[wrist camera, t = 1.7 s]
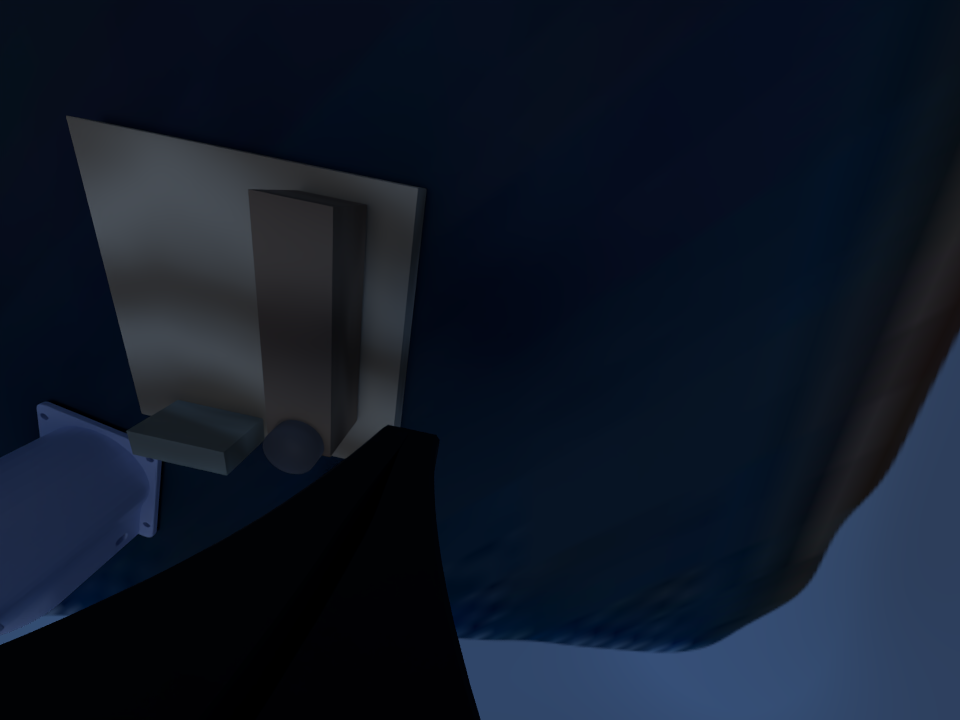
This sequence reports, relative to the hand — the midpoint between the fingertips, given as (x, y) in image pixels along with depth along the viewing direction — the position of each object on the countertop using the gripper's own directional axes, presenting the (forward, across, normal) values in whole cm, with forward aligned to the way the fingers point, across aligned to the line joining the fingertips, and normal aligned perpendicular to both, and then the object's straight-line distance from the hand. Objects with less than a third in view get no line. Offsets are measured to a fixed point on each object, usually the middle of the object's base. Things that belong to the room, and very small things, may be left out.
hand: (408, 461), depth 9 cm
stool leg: (+9, +6, +1) cm, 11 cm away
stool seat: (+10, +10, +1) cm, 15 cm away
